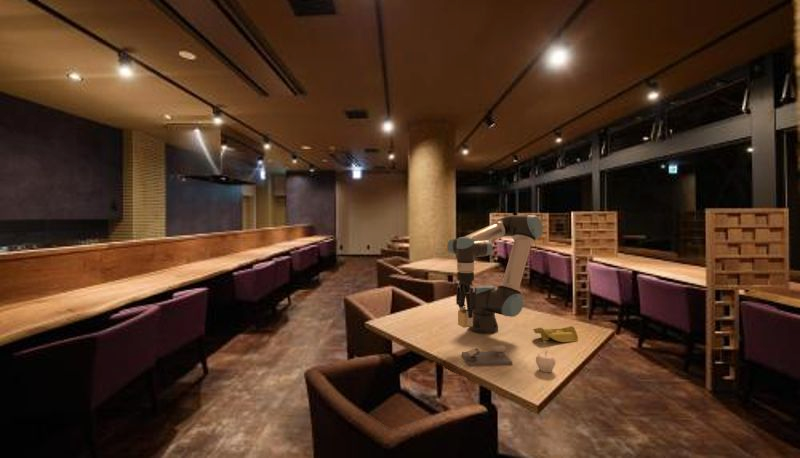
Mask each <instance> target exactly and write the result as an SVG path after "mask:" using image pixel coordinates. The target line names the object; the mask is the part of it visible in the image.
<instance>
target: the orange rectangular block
mask: <svg viewBox="0 0 800 458" xmlns="http://www.w3.org/2000/svg"><path fill="white" fill-rule="evenodd" d="M466 310H467V308H465V309H463V310H460V311H459V310H458V311H457V325H458V326H459V327H462V328H469V327H472V326H473V317H472V325H466Z"/></svg>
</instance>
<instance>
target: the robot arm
mask: <svg viewBox="0 0 800 458" xmlns="http://www.w3.org/2000/svg"><path fill="white" fill-rule="evenodd" d="M543 230H544V226H543V222H542V220H541V218H540V217H539V216H537V215H531V214H528V215H524V214H523V215H519V214H518V215H515V214H514V215H508V216H504V217H502V218H499V219H496V220H495V221H492V222H491V223H490V225H488V226H485V227H483V228H481V229H478V230H476V231H473V232H471V233H470V234H467V235H465V236H461V237H458V238H451V239H449V240H448V242H447V245H446V246H447V251H448V252H449V253H450V254H453V255H456V263H457V264H456V267H457V268H456V269H457V270H456V271H457V272H456V279H457V281H459V282H457V283H455V288H456V289H455V290H456V291H455V294H456V299H455V302H456V303H455V304H456V305H458V308H459V310H458V311H460V310H463V309H467V310H466V325H472V317H473V326H472V327H468V329H469V331H471V332H472V333H473V332H474V333H477V334H484V335H485V334H486V335H487V334H488V335H489V334H495V333H498V331H499V325H498V322H497V318H496V314H497V315H502V316H503V317H510V318H513V317H514V318H516V317H517V316H518V315H519V314H521V312H522V311H523V307H524V302H525V301H524V297H523V296H522V291H521V289H520V287H521V283H522V279H523V275H524V272H525V269H526V265H527V262H528V261H527V260H528V256H529V254H530V249H531V246H532V245H533V244H535V243H536V239H539V238H541V237H542V236H543V232H544V231H543ZM504 237H511V238H512V240H513V244H512V247H511V251H510V254H509V258H508V262H507V265H506V268H505V272H504V275H503V277H502V278H503V279H502V282H501V283H500V284H499V285H497V287H495V286H494V285H479V286H474V285H473V281H474V280H475V272H474V271H475V258H479V257H486V256H489V255H491V254H492V252H493V244H492V242H490V241H492V240H495V239H501V238H504ZM496 288H497V289H496ZM465 302H466V304H465Z"/></svg>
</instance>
